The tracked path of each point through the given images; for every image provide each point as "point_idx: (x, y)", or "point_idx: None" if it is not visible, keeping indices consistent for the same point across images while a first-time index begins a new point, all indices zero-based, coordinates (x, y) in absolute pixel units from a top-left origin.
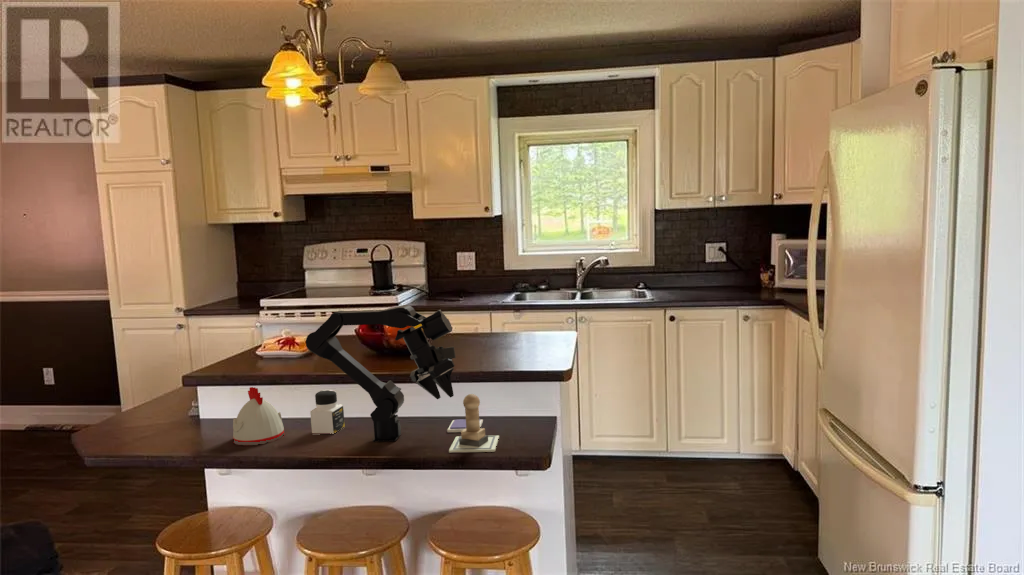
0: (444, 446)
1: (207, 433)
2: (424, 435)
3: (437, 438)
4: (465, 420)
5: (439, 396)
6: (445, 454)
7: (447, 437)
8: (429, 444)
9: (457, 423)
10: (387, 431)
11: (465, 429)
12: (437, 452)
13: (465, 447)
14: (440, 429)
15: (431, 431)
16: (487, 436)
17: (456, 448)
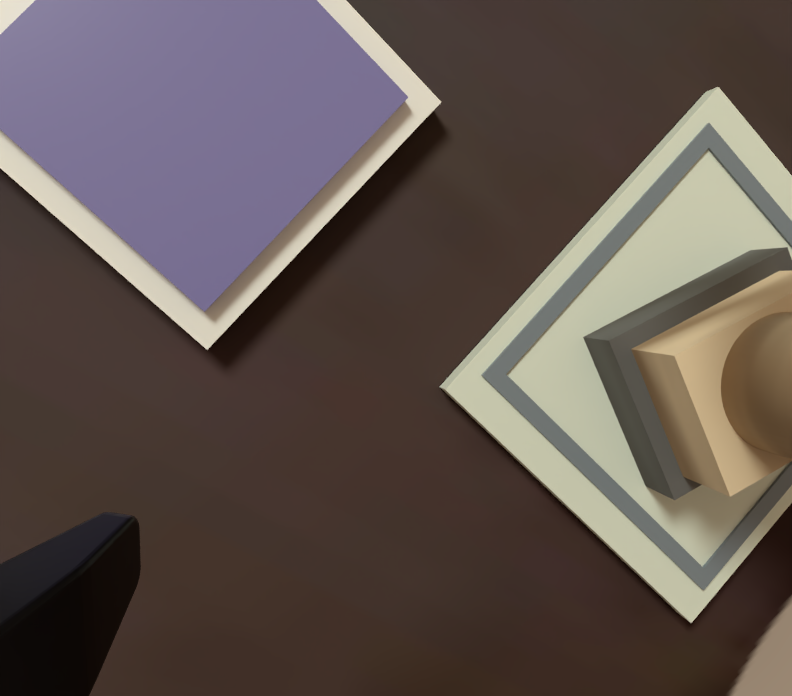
0: (533, 572)
1: None
2: None
3: (296, 515)
4: (97, 20)
5: (124, 546)
6: (689, 653)
7: (344, 428)
8: (390, 650)
9: (134, 164)
10: None
11: (716, 431)
12: (608, 682)
13: None
14: (47, 343)
15: (36, 452)
16: (785, 256)
17: (712, 560)
